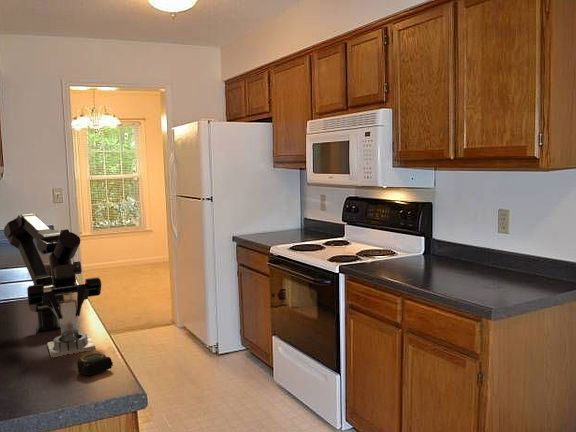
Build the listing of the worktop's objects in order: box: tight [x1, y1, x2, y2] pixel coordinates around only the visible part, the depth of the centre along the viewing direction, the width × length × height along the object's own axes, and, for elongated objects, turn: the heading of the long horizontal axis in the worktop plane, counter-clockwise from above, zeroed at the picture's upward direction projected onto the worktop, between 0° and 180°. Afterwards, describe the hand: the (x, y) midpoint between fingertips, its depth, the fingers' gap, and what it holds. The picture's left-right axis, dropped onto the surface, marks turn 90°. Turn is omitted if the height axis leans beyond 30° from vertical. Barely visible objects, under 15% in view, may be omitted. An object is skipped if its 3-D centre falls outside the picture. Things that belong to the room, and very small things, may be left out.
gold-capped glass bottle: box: [58, 293, 80, 341], centre depth 148 cm, size 4×4×12 cm
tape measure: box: [76, 352, 114, 376], centre depth 130 cm, size 7×7×4 cm
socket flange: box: [47, 332, 97, 359], centre depth 148 cm, size 11×11×3 cm
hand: (69, 317), depth 146 cm, fingers closed on gold-capped glass bottle, 4 cm apart
